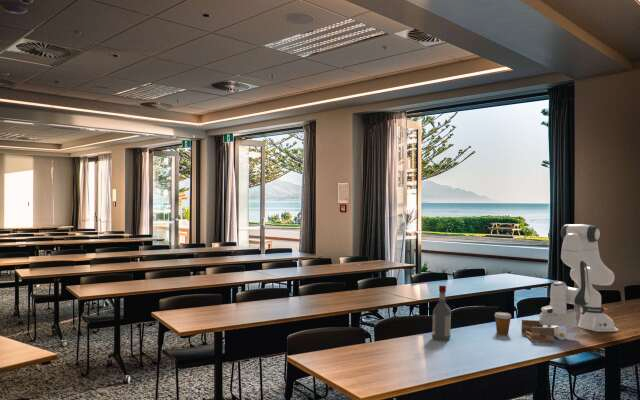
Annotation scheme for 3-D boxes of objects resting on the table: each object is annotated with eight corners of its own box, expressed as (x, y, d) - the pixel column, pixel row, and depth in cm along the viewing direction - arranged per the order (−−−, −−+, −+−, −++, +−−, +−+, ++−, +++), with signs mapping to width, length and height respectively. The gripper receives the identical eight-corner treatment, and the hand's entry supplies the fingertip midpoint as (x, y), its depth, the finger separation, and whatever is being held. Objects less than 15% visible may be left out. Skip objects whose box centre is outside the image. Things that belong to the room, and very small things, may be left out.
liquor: (450, 338, 281) (452, 285, 281) (447, 342, 273) (449, 287, 273) (434, 335, 285) (436, 284, 285) (431, 339, 276) (432, 286, 277)
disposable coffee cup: (512, 336, 288) (512, 315, 288) (495, 335, 290) (495, 314, 290) (509, 332, 297) (509, 312, 297) (492, 331, 299) (493, 311, 299)
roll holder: (520, 332, 297) (521, 319, 297) (541, 333, 296) (541, 320, 296) (532, 342, 277) (533, 327, 277) (554, 343, 276) (555, 328, 276)
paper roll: (547, 332, 296) (549, 323, 296) (557, 335, 295) (559, 325, 295) (555, 338, 283) (558, 328, 283) (565, 341, 283) (568, 331, 283)
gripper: (574, 309, 292) (573, 332, 292) (538, 307, 293) (537, 330, 293) (578, 311, 285) (578, 335, 285) (542, 310, 287) (541, 333, 287)
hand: (557, 333), depth 289 cm, fingers closed on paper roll, 6 cm apart
